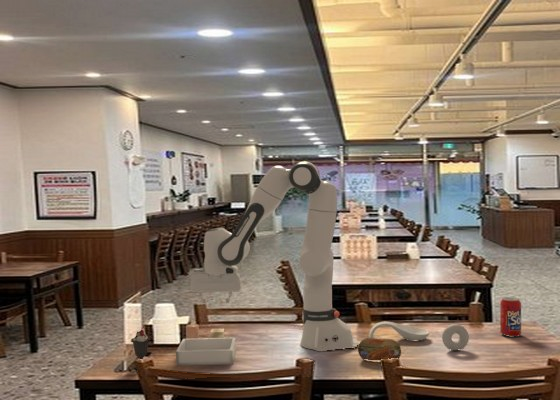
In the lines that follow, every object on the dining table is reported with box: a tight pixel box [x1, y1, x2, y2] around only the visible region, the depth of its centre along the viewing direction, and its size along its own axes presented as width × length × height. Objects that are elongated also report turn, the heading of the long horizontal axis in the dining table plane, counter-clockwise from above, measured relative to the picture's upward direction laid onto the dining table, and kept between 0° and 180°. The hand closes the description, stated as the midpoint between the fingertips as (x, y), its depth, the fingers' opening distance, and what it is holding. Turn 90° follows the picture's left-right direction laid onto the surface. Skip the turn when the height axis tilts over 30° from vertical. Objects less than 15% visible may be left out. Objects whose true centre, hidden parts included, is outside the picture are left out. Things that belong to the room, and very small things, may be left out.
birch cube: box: [210, 328, 225, 338], centre depth 230 cm, size 5×5×5 cm
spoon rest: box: [368, 320, 430, 341], centre depth 229 cm, size 24×12×7 cm, turn 88°
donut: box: [441, 323, 470, 351], centre depth 213 cm, size 10×4×10 cm, turn 95°
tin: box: [357, 337, 402, 361], centre depth 203 cm, size 15×3×8 cm, turn 68°
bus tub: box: [175, 337, 237, 367], centre depth 211 cm, size 20×16×5 cm
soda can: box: [499, 296, 522, 337], centre depth 231 cm, size 8×8×15 cm
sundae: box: [130, 326, 151, 360], centre depth 202 cm, size 7×7×15 cm
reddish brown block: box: [185, 323, 200, 339], centre depth 230 cm, size 5×5×7 cm
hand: (216, 302), depth 230 cm, fingers open, 8 cm apart
